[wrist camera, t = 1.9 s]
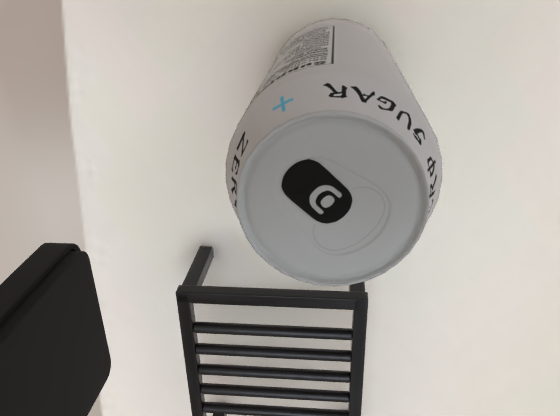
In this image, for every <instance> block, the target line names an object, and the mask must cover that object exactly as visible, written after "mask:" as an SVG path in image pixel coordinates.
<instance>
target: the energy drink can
mask: <svg viewBox="0 0 560 416" xmlns="http://www.w3.org/2000/svg"><path fill="white" fill-rule="evenodd" d="M441 182H442V157H441V153H440V149H439V145H438V141H437V138H436V136H435V134H434V132H433V130H432V128H431V126H430V124H429V122H428V120H427V118H426V116H425V114H424V112H423V111H422V109H421V107H420V105H419V104H418V102H417V100H416V98H415V96H414V95H413V93H412V91H411V89H410V88H409V86H408V84H407V82H406V81H405V79H404V77H403V75H402V73H401V72H400V70H399V68H398V66H397V65H396V63H395V61H394V59H393V57H392V56H391V54H390V52H389V50H388V49H387V47H386V45H385V44H384V43H383V42H382V40H381V39H380V38H379V37H378V36H377V35H376V34H375V33H374V32H372V31H371V30H370V29H369V28H367V27H365V26H363V25H361V24H359V23H357V22H353V21H349V20H346V19H328V20H321V21H318V22H315V23H312V24H310V25H307V26H306V27H304V28H303V29H301V30H299V31H298V32H297V33H296V34H295V35H293V36H292V37H291V38H290V39H289V40H288V41H287V43H286V44H285V46H284V47H283V49H282V50H281V52H280V53H279V55H278V57H277V58H276V60H275V62H274V64H273V65H272V67H271V69H270V70H269V72H268V74H267V76H266V77H265V79H264V81H263V82H262V84H261V86H260V88H259V89H258V91H257V93H256V94H255V96H254V98H253V100H252V101H251V103H250V105H249V106H248V108H247V110H246V112H245V113H244V115H243V117H242V118H241V120H240V122H239V124H238V126H237V128H236V130H235V132H234V135H233V137H232V139H231V141H230V145H229V149H228V154H227V159H226V184H227V189H228V193H229V198H230V201H231V203H232V206H233V208H234V210H235V213H236V215H237V217H238V219H239V221H240V224H241V227H242V229H243V231H244V233H245V236H246V238H247V239H248V241H249V242H250V244H251V245H252V247H253V248H254V249H255V251H256V252H257V253H258V254H259V255H260V256H261V257H262V258H263V259H264V260H265V261H266V262H267V263H268V264H269V265H271V266H272V267H274V268H275V269H277V270H278V271H280V272H281V273H283V274H285V275H287V276H290V277H292V278H294V279H296V280H299V281H303V282H307V283H311V284H314V285H325V286H342V285H351V284H355V283H360V282H364V281H367V280H370V279H372V278H374V277H377V276H379V275H381V274H383V273H385V272H386V271H388V270H389V269H391V268H392V267H394V266H395V265H397V264H398V263H399V262H400V261H401V260H402V259H403V258H404V257H405V256H406V255H407V254H408V253H409V252H410V251H411V250H412V248H413V247H414V245H415V244H416V243H417V241H418V240H419V238H420V236H421V234H422V231H423V229H424V227H425V224H426V222H427V220H428V219H429V218H430V216H431V214H432V212H433V209H434V207H435V205H436V202H437V200H438V197H439V192H440V187H441Z"/></svg>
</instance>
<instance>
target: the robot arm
mask: <svg viewBox="0 0 560 416" xmlns="http://www.w3.org/2000/svg"><path fill="white" fill-rule="evenodd" d="M110 368H111V359H110V354H109V349H108V344H107V340H106V335H105V330H104V325H103V321H102V316H101V311H100V307H99V302H98V297H97V293H96V288H95V283H94V279H93V274H92V269H91V264H90V260H89V257H88V254H87V253H86V252H84V251H81V250H80V248H79V247H78V246H77V245H76V244H67V243H44V244H43V245H41V246H40V247H39V248H38V249H37V250H36V251H35V252H34V253H33V254H32V255H31V256H30V257H29V258H28V259H27V260H25V261H24V263H22V264H21V265H20V266H19V267H18V268H17V269H16V270H15V271H14V272H13V273H12V274H11V275H10V276H9V277H8V278H7V279H6V280H5V281H4V282H3V283H2V284H1V285H0V416H87V415H88V413H89V412H90V410H91V408H92V406H93V404H94V402H95V400H96V399H97V397H98V395H99V393H100V391H101V390H102V388H103V386H104V384H105V382H106V380H107V378H108V376H109V373H110Z"/></svg>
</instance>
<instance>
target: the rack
mask: <svg viewBox="0 0 560 416" xmlns="http://www.w3.org/2000/svg"><path fill="white" fill-rule="evenodd" d="M212 259H213V248H212V247H203V246H201V247H200V248H199V250H198V252H197V254H196V256H195V258H194V261H193V263H192V265H191V267H190V269H189V271H188V273H187V275H186V278H185V280H184V282H183V284H182V285H179V286H178V289H177V291H176V298H177V305H178V313H179V320H180V327H181V335H182V342H183V350H184V357H185V365H186V372H187V380H188V387H189V395H190V402H191V410H192V416H206V413H213V416H227V414H237V415H253V416H361V405H362V389H363V373H364V357H365V342H366V326H367V310H368V293H367V292H365V285H364V282H360V283H355V284H351V285H349V292H347V291H321V290H294V289H268V288H242V287H216V286H202V284H203V281H204V279H205V276H206V274H207V272H208V269H209V267H210V264H211V262H212ZM193 303H201V304H225V305H249V306H273V307H297V308H321V309H345V310H353V320H352V329H348V328H326V327H304V326H282V325H260V324H238V323H215V322H195V314H194V306H193ZM197 333H209V334H230V335H252V336H273V337H294V338H315V339H336V340H352V341H351V351H350V350H330V349H310V348H289V347H269V346H249V345H228V344H208V343H198V340H197ZM199 354H206V355H225V356H245V357H264V358H284V359H303V360H323V361H342V362H350V372H349V371H333V370H314V369H295V368H277V367H258V366H239V365H220V364H200V357H199ZM202 375H220V376H238V377H256V378H274V379H292V380H310V381H328V382H346V383H349V382H350V383H349V392H348V391H334V390H317V389H299V388H282V387H264V386H247V385H229V384H211V383H203V382H202ZM204 394H213V395H230V396H247V397H264V398H281V399H298V400H315V401H332V402H349V403H348V410H333V409H317V408H300V407H284V406H267V405H251V404H234V403H218V402H205V399H204Z"/></svg>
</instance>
